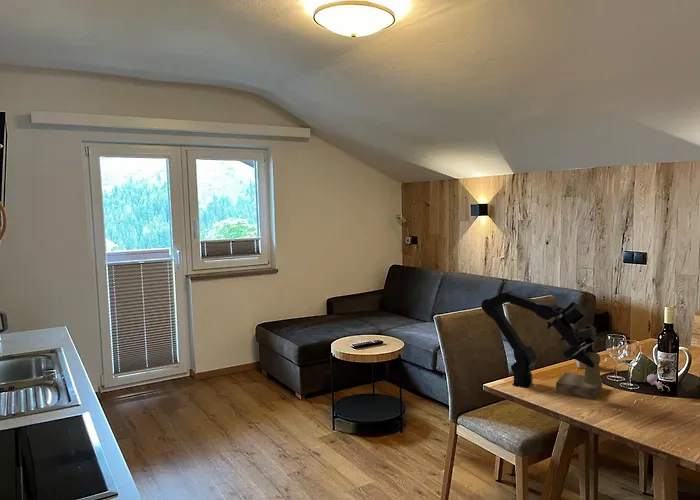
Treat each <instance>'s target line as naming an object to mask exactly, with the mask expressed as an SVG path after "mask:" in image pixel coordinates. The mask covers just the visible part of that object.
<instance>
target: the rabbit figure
mask: <svg viewBox="0 0 700 500" xmlns="http://www.w3.org/2000/svg"><path fill="white" fill-rule="evenodd" d="M658 374H659V373H658V372H656V374H654V373H653V374H650V375H648V376H647V378H646V381H647V383H648V384H650V385H651V386H656V387H657V389H658V390H659V389H662V390H661V392H662V391H663V392H664V391H665V390H664V389H663V386H665V387H666V388H668V389H667V390H669V391H671V389H670V387H669V386H668V385H667V384H666V385H667V386H666V385H664V384H662V382H663V381H662V382H660V381H659V382H657V379H659V378H658Z"/></svg>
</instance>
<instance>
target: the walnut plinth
mask: <svg viewBox="0 0 700 500" xmlns="http://www.w3.org/2000/svg"><path fill="white" fill-rule="evenodd" d="M600 378H601V384H599V385H591V384H587V383H585V382H584V381H583V380H584V374H578V373H570V372H564V373H563V374H562V375H561V376H560V377H559V379H558V380H557V381H556V383H555V388H556V389H555V393H556V394H560V395H568V396H572V397H573V396H574V397H580V398H584V399H592V400H596V399H597V397H598V395H599V394H600V391H601V390H602V389H603V378H602V377H600Z"/></svg>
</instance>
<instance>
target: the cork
mask: <svg viewBox="0 0 700 500" xmlns="http://www.w3.org/2000/svg"><path fill="white" fill-rule="evenodd" d="M586 354H587V355H588V357H589V358H590V360H591V361H592V363H593V364H594V366H595V367H593V368H591V367H589V366H587V365H586V368H584V374H583V375H584V380H583V381H584V382H585V383H587V384H591V385H599V384H601V378H602V377H601V372H600V363H601V362H600V361H601V356H600V354H599V353H597V352H595V353H594V352H589V353H586ZM599 362H600V363H599Z"/></svg>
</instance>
